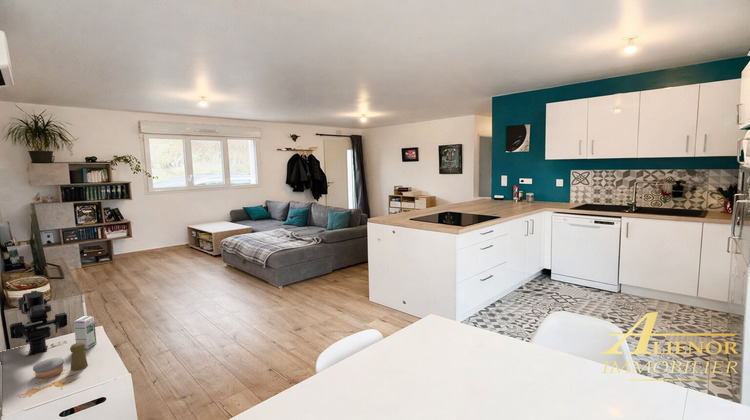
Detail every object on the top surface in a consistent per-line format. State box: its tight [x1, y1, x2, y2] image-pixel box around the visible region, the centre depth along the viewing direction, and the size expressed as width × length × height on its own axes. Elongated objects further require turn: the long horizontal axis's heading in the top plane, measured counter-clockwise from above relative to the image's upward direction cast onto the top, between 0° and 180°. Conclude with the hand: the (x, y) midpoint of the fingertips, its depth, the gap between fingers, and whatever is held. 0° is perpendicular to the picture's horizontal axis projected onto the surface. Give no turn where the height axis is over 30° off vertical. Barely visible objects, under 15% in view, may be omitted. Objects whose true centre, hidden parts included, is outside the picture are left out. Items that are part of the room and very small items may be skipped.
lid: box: [32, 357, 65, 373], centre depth 157 cm, size 10×10×1 cm
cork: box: [69, 342, 89, 372], centre depth 162 cm, size 6×6×11 cm
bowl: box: [34, 363, 64, 379], centre depth 157 cm, size 9×9×3 cm
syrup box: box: [73, 315, 97, 350], centre depth 180 cm, size 6×6×14 cm
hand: (42, 335), depth 157 cm, fingers open, 9 cm apart
